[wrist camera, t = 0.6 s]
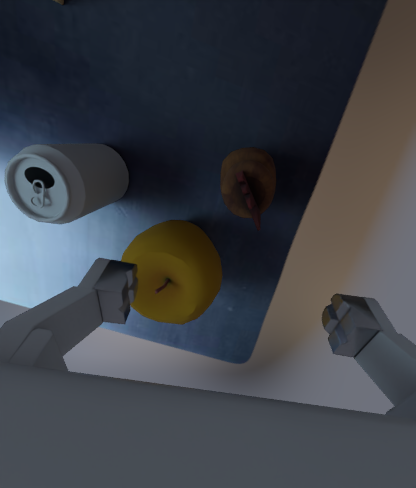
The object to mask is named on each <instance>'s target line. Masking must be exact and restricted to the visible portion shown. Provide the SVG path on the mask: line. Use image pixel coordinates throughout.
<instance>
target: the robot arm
mask: <svg viewBox="0 0 416 488" xmlns="http://www.w3.org/2000/svg"><path fill="white" fill-rule="evenodd" d="M137 272H138V268H137V264H134V263H128V262H122V261H116V260H109V259H103V258H98V259H97V260H95V262H94V263H93V265H92V266H91V268H90V269H89V271H88V272H87V274H86V275H85V277H84V278H83V279H82V281H81V282H80V284H79V285H78V287H75V286H73V287H71V288H69V289H68V290H66V291H64V292H62V293H60V294H58V295H56V296H54V297H52V298H50V299H49V300H47V301H45V302H43V303H41V304H39V305H37V306H35V307H33V308H32V309H30V310H28V311H26V312H24V313H22V314H20V315H18V316H16V317H15V318H13V319H11V320H9V321H7V322H5V323H4V325H3V326H2V327H1V328H0V488H416V345H415V344H413V343H412V342H411V341H410V340H408V339H407V338H406V337H404V336H403V335H402V334H398V333H397V332H396V330H395V329H394V327H393V326H392V324H391V322H390V321H389V319H388V318H387V316H386V314H385V313H384V311H383V310H382V308H381V306H380V305H379V303H378V302H377V301H376V300H375V299H373V298H366V297H357V296H351V295H343V294H335V295H333V297H332V298H331V302H332V304H330V305H328V306H326V308H325V309H324V311H323V314H322V323H323V326H324V329H325V330H326V331H327V332H328V333H329V334H330V335H329V337H328V341H329V343H330V346H331V349H332V351H333V354H336V355H342V356H348V357H354V359H355V360H356V361H357V363H358V364H359V365H360V366H361V367H362V368H363V370H364V371H365V372H366V373H367V374H368V375H369V376H370V378H371V379H372V380H373V381H374V382H375V383H376V385H377V386H378V387H379V388H380V389H381V391H382V392H383V393H384V394H385V395H386V396H387V398H388V399H389V400H390V401H391V402H392V403H393V404H394V406H395V407H393V408H392V409H390V410H389V411H387V412H386V414H385V415H383V414H376V413H368V412H361V411H354V410H347V409H339V408H332V407H325V406H318V405H311V404H303V403H296V402H289V401H282V400H274V399H267V398H259V397H252V396H245V395H238V394H230V393H223V392H216V391H208V390H201V389H194V388H186V387H179V386H172V385H164V384H157V383H150V382H142V381H135V380H128V379H120V378H113V377H106V376H98V375H91V374H84V373H76V372H70V371H68V369H67V367H66V364H65V362H64V359H63V357H62V356H64V355H65V354H66V353H67V352H68V351H70V350H71V349H72V348H73V347H74V346H75V345H77V344H78V343H79V342H80V341H82V340H83V339H84V338H85V337H86V336H88V335H89V334H90V333H91V332H92V331H94V330H95V329H96V328H97V327H98V326H100V325H101V324H102V323H103V322H110V323H118V324H125V322H126V320H127V317H128V315H129V312H130V304H131V303H132V302H134V300H135V297H136V294H137V290H138V278H137V277H136V274H137Z"/></svg>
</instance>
